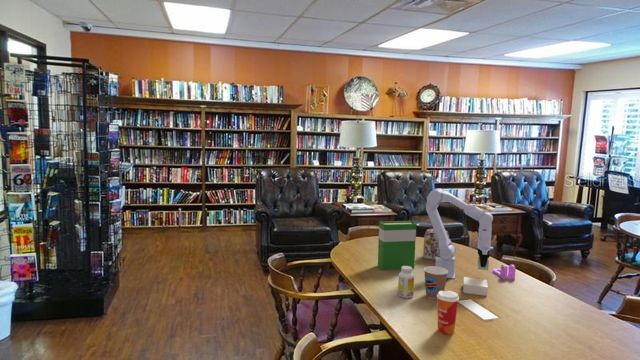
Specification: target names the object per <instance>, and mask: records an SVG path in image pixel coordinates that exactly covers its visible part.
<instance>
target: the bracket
mask: <svg viewBox="0 0 640 360" xmlns="http://www.w3.org/2000/svg"><path fill="white" fill-rule="evenodd" d="M492 273H493V274H494V275H496V276H498V277H500V278H501V279H502V278H503V280H505V279H511V280H516V279H515V278H516V266H515V264H509V265H508V266H507V264H501V265H500V268H492Z"/></svg>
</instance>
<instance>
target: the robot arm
mask: <svg viewBox="0 0 640 360" xmlns="http://www.w3.org/2000/svg"><path fill="white" fill-rule="evenodd" d="M440 203H450V204H452V205H454V206H456V207H458V208H459V209H461V210H463V211H464V214H465V215H466V216H468V217H470V218H471V219H473V220H474V221H478V224H479V226H478V235H477V237H478V238H477V246H476V247H477V248H476V249H477V254H478V257H480V265H481V267H486V264H487V261H488V259H489V258H490V257H491V253H489V252H490V250H494V247H493V246H491V244H492V230H493V227H492V222H493V220H494V216H493V214H492V213H491V212H489V211H486V210H485V209H481V208H480V207H478V206H477V204H475V203H467V202H464V201H463V200H462V199H460V198H458V197H457V196H455V195H454V194H452V193H451V192H449V191H447V190H444V189H443V188H441V187H440V188H435V189H433V190H431V191H430V192H429V194H428V195H427V197H426V205H425V211H426V213H427V215H428V218H429V220H430V223H431V226H432V229H434V231H435V234H436V236H437V239H438V241H439V249H440V252H439V253H440V257H436V260H435V265H434V266H437V267H442V268H445V269H447V270H448V273H447V278H446V279H455V278H456V273H455V268H456V267H455V266H456V265H455V264H456V263H455V262H456V257H455V254H456V253H457V247H456V246H455V245H454V244H453V243H452V240H451V239H450V237H449V238H448V236H447V233H446V231H447V230H446V229H445V226H444V224H443V221H442V218H441V216H440V213H439V211H438V207H439V206H440ZM445 230H446V231H445Z"/></svg>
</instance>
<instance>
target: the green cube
mask: <svg viewBox="0 0 640 360" xmlns="http://www.w3.org/2000/svg"><path fill="white" fill-rule="evenodd" d="M489 264H490V259H489V258H488V261H487V264H486V267H481V265H480V257H479V256H478V257H477V270H481V271H489Z"/></svg>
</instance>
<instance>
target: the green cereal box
mask: <svg viewBox="0 0 640 360" xmlns="http://www.w3.org/2000/svg"><path fill="white" fill-rule="evenodd" d="M378 225H379V226H378V244H377V245H378V246H377V247H378V248H377V249H378V250H377V266H378V267H379V269H380V270H382V271H390V270H391V271H393V270H394V269H395V270H401V267H402V266H410V267H412V270H413V269H415V262H416V261H415V259H416V257H415V256H416V240H417V239H416V237H417V223H412V220H397V221H396V220H395V221H389V220H388V221H379V223H378ZM395 270H394V271H395Z"/></svg>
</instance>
